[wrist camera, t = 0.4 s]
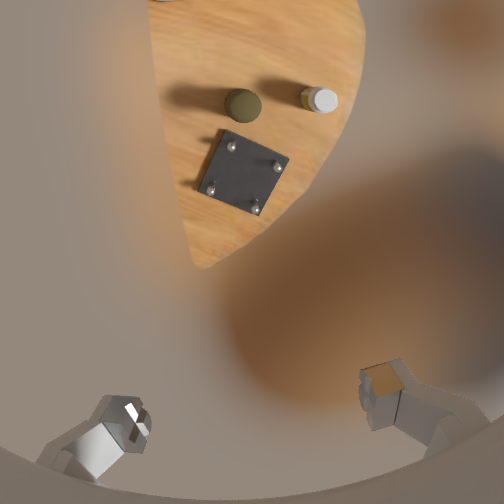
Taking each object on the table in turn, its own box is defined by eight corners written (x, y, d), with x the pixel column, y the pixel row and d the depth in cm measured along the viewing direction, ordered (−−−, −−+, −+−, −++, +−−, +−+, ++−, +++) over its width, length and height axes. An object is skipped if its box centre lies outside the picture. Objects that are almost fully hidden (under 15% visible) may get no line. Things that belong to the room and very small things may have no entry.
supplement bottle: (316, 115, 48) (330, 120, 41) (294, 103, 47) (306, 105, 40) (328, 95, 46) (344, 97, 39) (307, 82, 45) (320, 81, 38)
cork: (223, 118, 48) (221, 125, 38) (226, 87, 44) (225, 85, 35) (256, 121, 48) (262, 128, 39) (260, 90, 45) (268, 89, 36)
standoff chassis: (225, 129, 49) (225, 132, 45) (288, 157, 52) (293, 164, 48) (198, 189, 55) (196, 198, 51) (257, 213, 58) (260, 223, 54)
